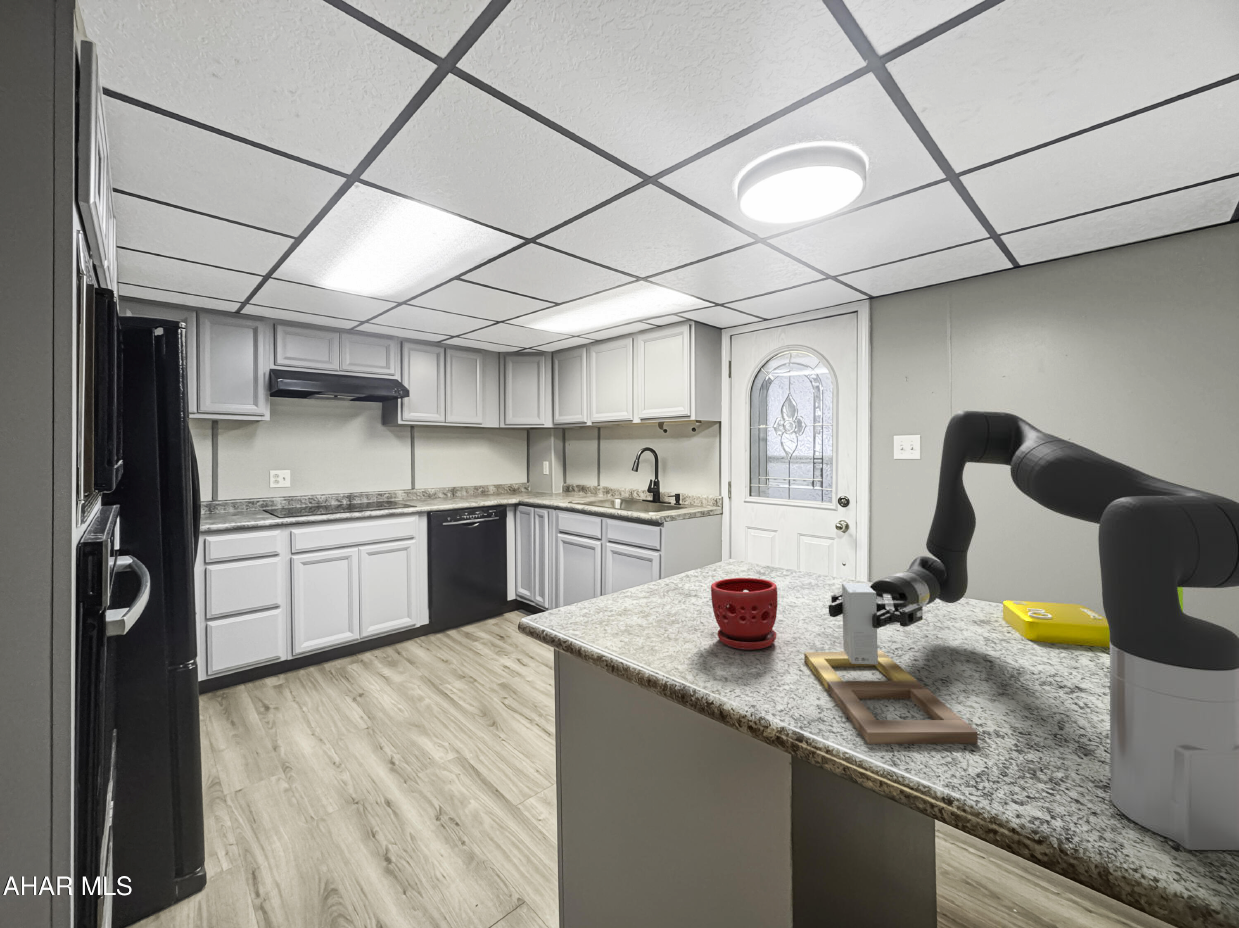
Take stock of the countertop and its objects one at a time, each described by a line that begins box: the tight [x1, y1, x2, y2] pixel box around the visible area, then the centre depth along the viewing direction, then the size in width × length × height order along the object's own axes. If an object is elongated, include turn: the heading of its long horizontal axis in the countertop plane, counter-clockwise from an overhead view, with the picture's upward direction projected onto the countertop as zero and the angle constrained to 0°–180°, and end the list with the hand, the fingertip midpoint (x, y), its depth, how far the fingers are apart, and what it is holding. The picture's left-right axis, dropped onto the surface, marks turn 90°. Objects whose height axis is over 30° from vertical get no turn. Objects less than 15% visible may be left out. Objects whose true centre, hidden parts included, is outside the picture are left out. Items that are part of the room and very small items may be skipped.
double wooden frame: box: [803, 650, 979, 745], centre depth 81 cm, size 27×14×2 cm, turn 177°
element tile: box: [1002, 599, 1110, 648], centre depth 105 cm, size 15×15×5 cm
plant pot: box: [710, 577, 778, 651], centre depth 105 cm, size 13×13×12 cm
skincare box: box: [841, 582, 879, 665], centre depth 87 cm, size 6×4×12 cm
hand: (852, 616), depth 86 cm, fingers closed on skincare box, 7 cm apart
